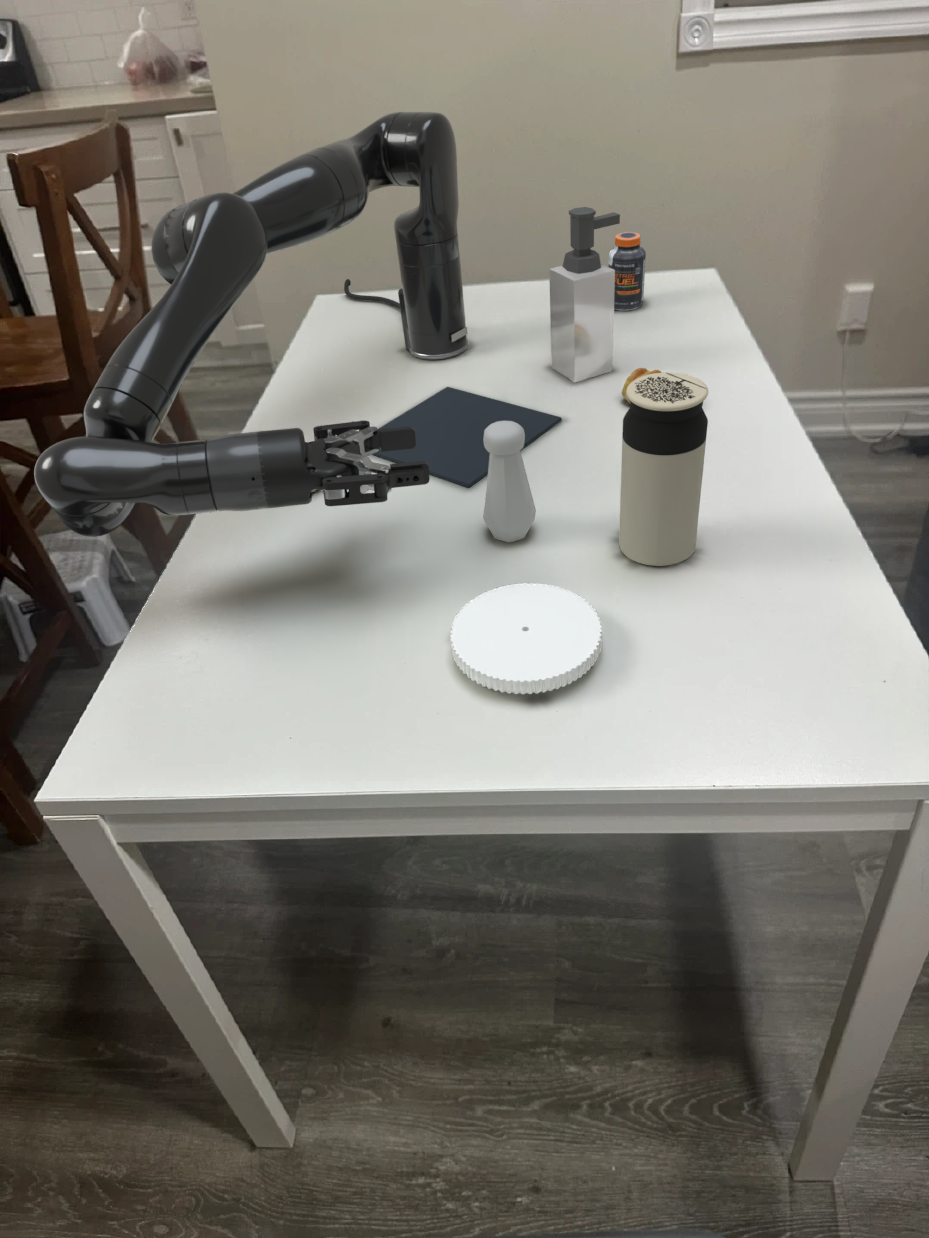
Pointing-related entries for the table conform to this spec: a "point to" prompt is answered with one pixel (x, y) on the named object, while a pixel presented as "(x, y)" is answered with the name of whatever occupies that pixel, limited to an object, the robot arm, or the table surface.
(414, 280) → the robot arm
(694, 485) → the travel mug
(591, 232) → the soap dispenser
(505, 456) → the salt shaker
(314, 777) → the table surface
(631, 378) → the pastry
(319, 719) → the table surface
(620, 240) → the pill bottle
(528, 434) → the mat
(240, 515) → the table surface
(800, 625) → the table surface
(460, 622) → the plastic lid
